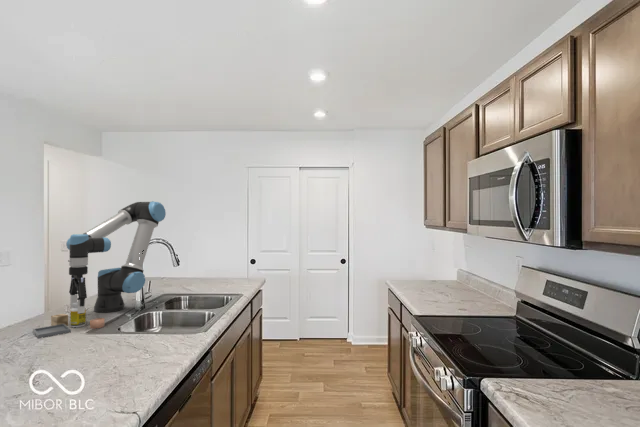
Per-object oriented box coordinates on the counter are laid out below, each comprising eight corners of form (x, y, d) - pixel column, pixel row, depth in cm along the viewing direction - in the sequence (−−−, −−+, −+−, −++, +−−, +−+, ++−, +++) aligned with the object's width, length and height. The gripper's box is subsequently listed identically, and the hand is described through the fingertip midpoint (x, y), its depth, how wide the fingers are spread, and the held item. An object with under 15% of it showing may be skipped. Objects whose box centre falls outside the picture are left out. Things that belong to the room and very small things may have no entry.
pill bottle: (80, 328, 176) (80, 304, 176) (67, 327, 176) (67, 304, 176) (88, 324, 182) (88, 301, 182) (76, 324, 182) (76, 301, 182)
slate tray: (64, 326, 177) (64, 323, 177) (70, 332, 169) (70, 329, 169) (32, 332, 169) (32, 329, 169) (38, 338, 160) (38, 335, 160)
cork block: (62, 323, 183) (62, 313, 183) (68, 325, 180) (68, 314, 181) (51, 326, 178) (51, 315, 179) (56, 327, 176) (56, 317, 176)
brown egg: (102, 324, 182) (102, 317, 182) (106, 327, 178) (106, 319, 178) (88, 327, 178) (88, 319, 178) (91, 329, 174) (92, 322, 174)
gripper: (62, 264, 185) (61, 307, 185) (76, 269, 168) (75, 316, 167) (80, 263, 191) (79, 305, 190) (95, 268, 173) (94, 313, 173)
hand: (77, 310), depth 179 cm, fingers open, 13 cm apart
